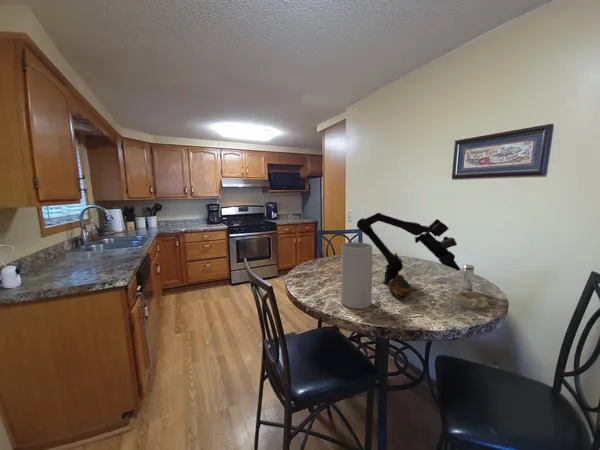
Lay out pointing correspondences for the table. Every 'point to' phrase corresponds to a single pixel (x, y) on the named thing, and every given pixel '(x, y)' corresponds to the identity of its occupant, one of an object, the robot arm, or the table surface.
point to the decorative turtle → (399, 286)
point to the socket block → (469, 299)
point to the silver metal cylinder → (467, 278)
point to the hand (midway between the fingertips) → (456, 267)
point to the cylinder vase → (356, 275)
